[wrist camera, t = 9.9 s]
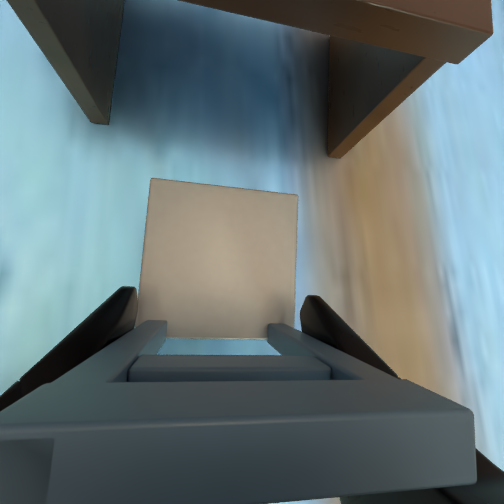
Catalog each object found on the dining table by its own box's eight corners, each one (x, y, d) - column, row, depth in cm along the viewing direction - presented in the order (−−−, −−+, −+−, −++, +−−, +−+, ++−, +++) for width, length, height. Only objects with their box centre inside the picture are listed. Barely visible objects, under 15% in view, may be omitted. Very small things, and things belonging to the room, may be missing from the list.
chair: (266, 326, 16) (506, 484, 3) (155, 323, 15) (-106, 543, 2) (271, 219, 17) (477, 28, 4) (166, 209, 16) (18, -91, 3)
